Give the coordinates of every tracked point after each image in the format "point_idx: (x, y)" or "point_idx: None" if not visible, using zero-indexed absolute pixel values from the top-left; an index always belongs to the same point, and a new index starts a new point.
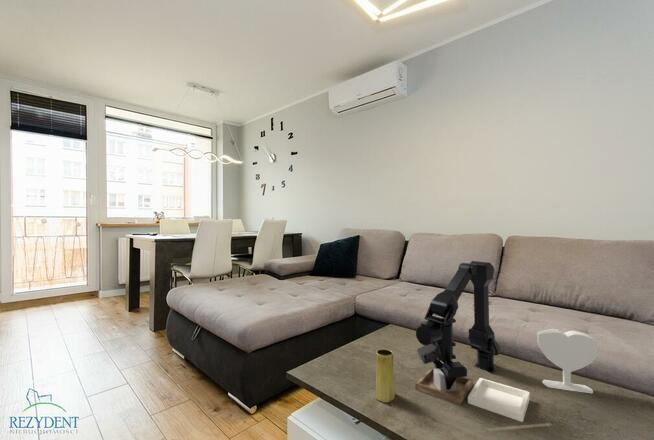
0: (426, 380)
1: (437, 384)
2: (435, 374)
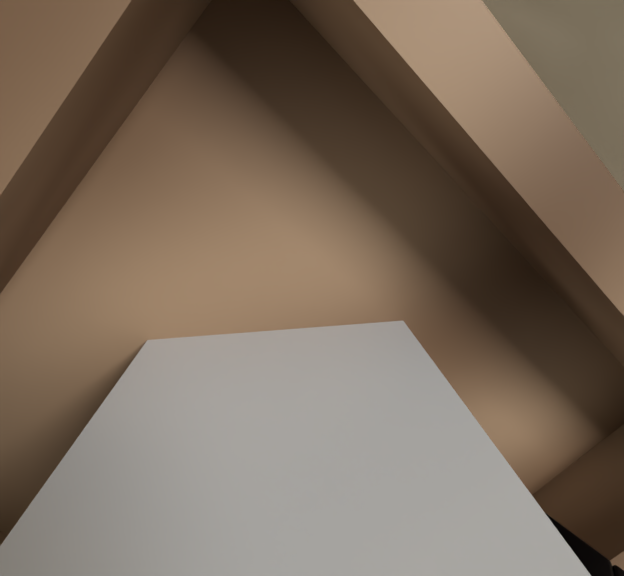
0: (500, 225)
1: (259, 362)
2: (373, 481)
